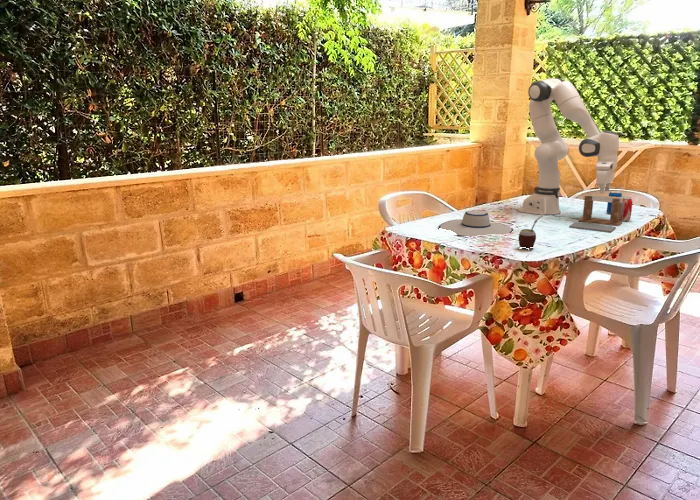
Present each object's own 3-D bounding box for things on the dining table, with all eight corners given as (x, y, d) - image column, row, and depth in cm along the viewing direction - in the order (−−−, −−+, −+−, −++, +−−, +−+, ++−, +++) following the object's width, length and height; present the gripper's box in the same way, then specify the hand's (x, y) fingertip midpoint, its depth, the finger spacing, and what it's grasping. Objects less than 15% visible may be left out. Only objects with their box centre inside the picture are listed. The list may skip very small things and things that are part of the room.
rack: (578, 221, 267) (581, 196, 264) (582, 218, 273) (585, 194, 270) (618, 226, 256) (621, 200, 252) (622, 223, 262) (625, 197, 258)
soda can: (632, 222, 263) (635, 199, 260) (617, 221, 264) (619, 198, 261) (627, 219, 270) (630, 196, 266) (613, 218, 271) (615, 196, 268)
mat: (569, 227, 255) (569, 225, 255) (575, 223, 263) (575, 222, 263) (610, 232, 244) (611, 231, 244) (615, 228, 251) (616, 226, 251)
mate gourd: (515, 246, 225) (517, 212, 220) (533, 246, 225) (535, 212, 221) (521, 251, 217) (524, 216, 213) (540, 250, 218) (543, 216, 214)
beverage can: (606, 214, 281) (609, 192, 278) (606, 212, 287) (608, 190, 284) (620, 215, 279) (622, 193, 276) (619, 212, 285) (621, 191, 281)
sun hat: (423, 229, 262) (423, 211, 260) (472, 219, 282) (473, 202, 279) (478, 243, 233) (479, 223, 231) (529, 231, 253) (530, 212, 251)
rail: (583, 199, 266) (583, 195, 265) (584, 198, 268) (585, 194, 267) (621, 203, 255) (622, 198, 254) (622, 202, 257) (623, 197, 257)
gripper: (605, 162, 266) (603, 188, 270) (594, 166, 251) (592, 194, 254) (618, 162, 262) (616, 189, 266) (608, 166, 247) (606, 195, 250)
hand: (604, 192), depth 260 cm, fingers open, 8 cm apart
